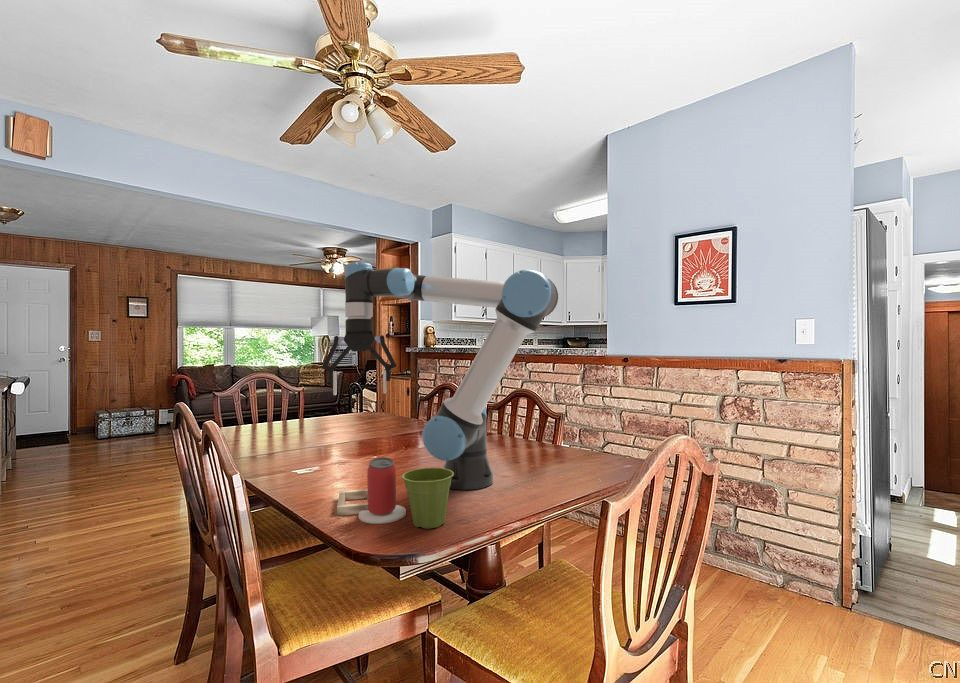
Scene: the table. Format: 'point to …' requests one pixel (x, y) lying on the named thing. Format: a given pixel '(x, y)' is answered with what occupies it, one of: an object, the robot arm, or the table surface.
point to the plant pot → (428, 495)
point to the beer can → (381, 486)
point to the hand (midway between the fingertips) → (360, 394)
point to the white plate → (382, 516)
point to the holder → (351, 508)
